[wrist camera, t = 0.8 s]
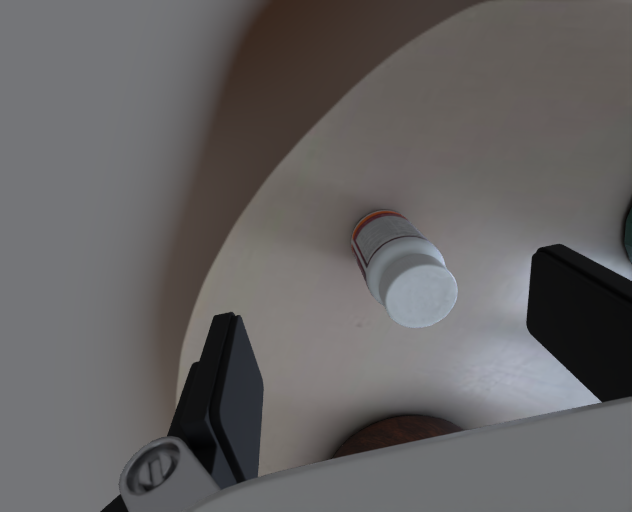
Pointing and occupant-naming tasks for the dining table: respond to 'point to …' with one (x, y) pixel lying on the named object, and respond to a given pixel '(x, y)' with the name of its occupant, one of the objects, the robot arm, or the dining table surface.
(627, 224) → the green faceted bowl
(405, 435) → the wooden bowl
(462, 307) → the dining table surface
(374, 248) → the pill bottle
